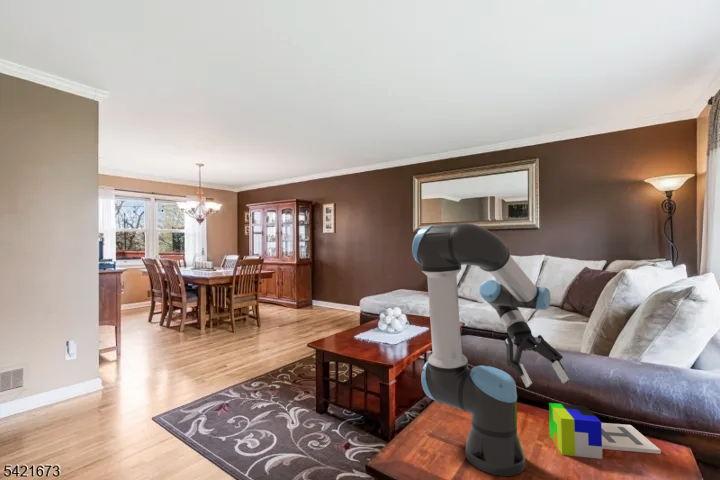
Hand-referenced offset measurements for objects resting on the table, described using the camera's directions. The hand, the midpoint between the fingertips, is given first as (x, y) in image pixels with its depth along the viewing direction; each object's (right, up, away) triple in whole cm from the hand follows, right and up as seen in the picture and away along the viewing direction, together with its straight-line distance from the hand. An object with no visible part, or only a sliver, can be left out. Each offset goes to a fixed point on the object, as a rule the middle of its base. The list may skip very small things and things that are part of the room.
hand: (547, 383), depth 110 cm
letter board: (+17, -14, -6) cm, 23 cm away
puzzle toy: (+2, -14, -11) cm, 18 cm away
